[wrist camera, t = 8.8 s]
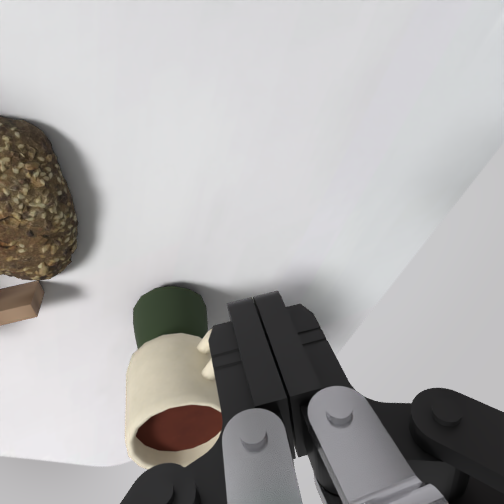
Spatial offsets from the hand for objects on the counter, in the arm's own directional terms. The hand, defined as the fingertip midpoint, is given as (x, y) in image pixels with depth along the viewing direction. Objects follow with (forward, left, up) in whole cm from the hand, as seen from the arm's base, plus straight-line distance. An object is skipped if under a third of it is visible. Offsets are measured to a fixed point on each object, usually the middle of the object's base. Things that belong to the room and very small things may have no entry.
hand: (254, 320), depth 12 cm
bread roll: (+15, +2, -21) cm, 26 cm away
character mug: (+5, +15, -21) cm, 26 cm away
